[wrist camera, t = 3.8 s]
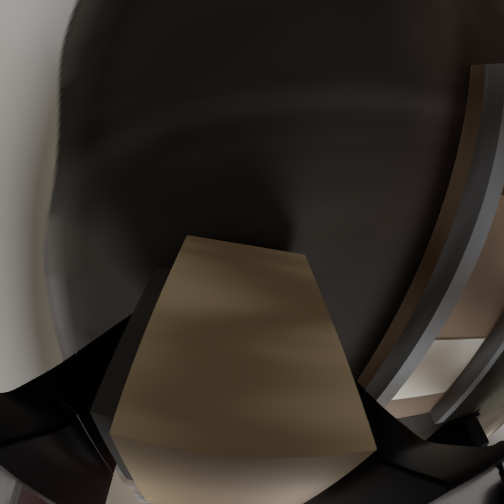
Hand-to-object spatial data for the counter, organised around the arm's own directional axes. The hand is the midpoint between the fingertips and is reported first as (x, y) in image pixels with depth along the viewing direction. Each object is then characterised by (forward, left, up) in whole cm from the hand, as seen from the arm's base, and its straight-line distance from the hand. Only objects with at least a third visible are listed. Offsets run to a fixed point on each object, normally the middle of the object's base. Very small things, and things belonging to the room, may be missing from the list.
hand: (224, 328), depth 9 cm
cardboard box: (0, 0, -1) cm, 1 cm away
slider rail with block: (+2, -12, -2) cm, 13 cm away
